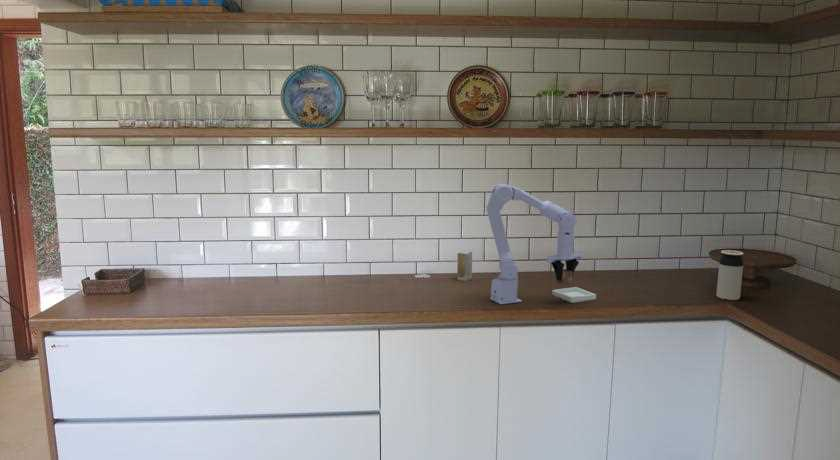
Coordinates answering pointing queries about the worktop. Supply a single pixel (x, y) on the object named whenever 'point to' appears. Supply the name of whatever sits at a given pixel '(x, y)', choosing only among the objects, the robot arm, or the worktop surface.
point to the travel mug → (730, 275)
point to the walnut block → (565, 278)
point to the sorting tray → (574, 294)
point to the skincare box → (464, 265)
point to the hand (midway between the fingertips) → (563, 279)
